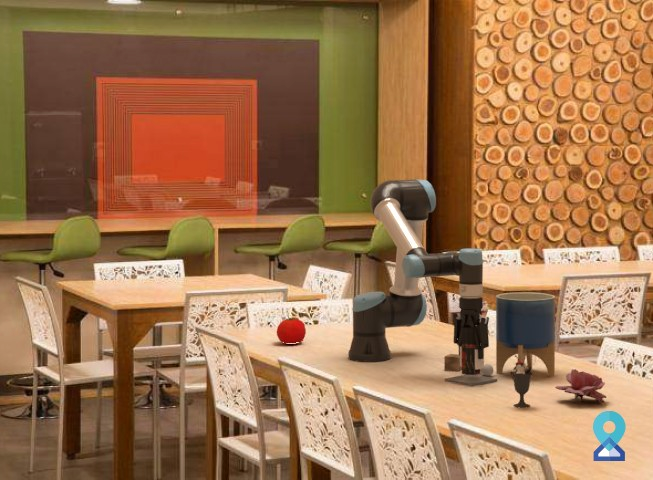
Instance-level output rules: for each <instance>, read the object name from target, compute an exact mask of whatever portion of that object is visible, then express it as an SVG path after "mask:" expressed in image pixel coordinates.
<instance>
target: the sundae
mask: <svg viewBox="0 0 653 480" xmlns="http://www.w3.org/2000/svg"><path fill="white" fill-rule="evenodd" d="M514 357H515V358H516V360H518V359H519V358H518V354H515V355H514ZM510 374H511V375H512V378H513V384H514V390H515V392H516V393H517V394H518V395H519V401H518V403H515V404H513V407H514V406H515V407H514V408H518V407H520V409H523V408H525V409H526V407H527V408H530V407H531V405H530V404H528V403H526V402H525V399H524V396H525V394H527V393H528V392H529V390H530V384H531V377H532V375H533V374H534V371H532V370H531V367H529V368H528V366H527V363H525V362H524V363H522V362H521V361H520V360H519V362H518V361H517V362H515V366H514V367H513V368H512V371H510Z"/></svg>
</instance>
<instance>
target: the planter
mask: <svg viewBox="0 0 653 480" xmlns="http://www.w3.org/2000/svg"><path fill="white" fill-rule="evenodd" d="M495 296H496V297H495V300H496V301H495V311H496V312H495V314H496V315H495V318H496V319H495V328H496V330H495V336H496V337H495V339H496V345H495V346H496V350H495V353H496V356H495V359H496V360H495V361H496V363H495V365H496V367H495V369H496V372H495V373H496V374H498V375H499V374H500V375H503V372H504V367H505V364H506V363H507V361H508V360H509V359H510V358H511V357H514V356H516V355H517V357H518V358H519V359H517V362H519V360H520V361H521V362H522V363H524V364H525V362H526V365H527V366H528V368H529V367H531V371H532V370H533V356H534V357H536V358H538V359H540V360H541V361H542V362H543V364H544V365H545V368H546V370H547V375H548V377H555V376H556V375H555V374H556V371H555V369H556V368H555V364H556V363H555V362H556V357H555V356H556V355H555V354H556V352H555V349H556V345H555V344H556V341H555V340H556V296H555V295H553V294H551V293H544V292H543V293H542V292H530V291H529V292H527V291H526V292H525V291H523V292H520V291H519V292H506V293H499V294H496V295H495ZM525 360H526V361H525Z"/></svg>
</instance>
